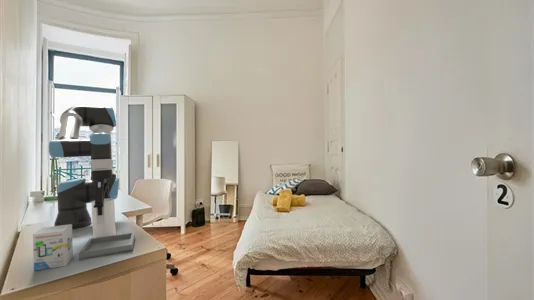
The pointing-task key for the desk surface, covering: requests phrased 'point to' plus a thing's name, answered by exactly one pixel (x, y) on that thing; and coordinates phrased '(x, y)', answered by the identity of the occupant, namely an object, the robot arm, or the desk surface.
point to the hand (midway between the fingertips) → (103, 219)
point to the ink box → (52, 247)
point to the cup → (109, 224)
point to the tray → (107, 245)
